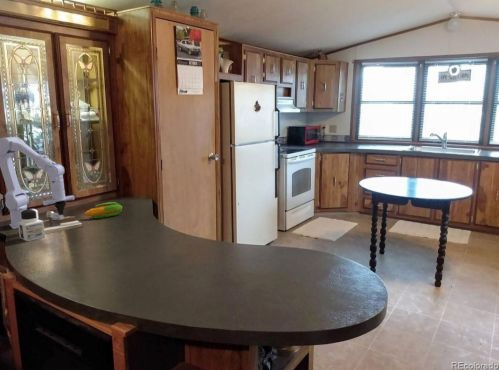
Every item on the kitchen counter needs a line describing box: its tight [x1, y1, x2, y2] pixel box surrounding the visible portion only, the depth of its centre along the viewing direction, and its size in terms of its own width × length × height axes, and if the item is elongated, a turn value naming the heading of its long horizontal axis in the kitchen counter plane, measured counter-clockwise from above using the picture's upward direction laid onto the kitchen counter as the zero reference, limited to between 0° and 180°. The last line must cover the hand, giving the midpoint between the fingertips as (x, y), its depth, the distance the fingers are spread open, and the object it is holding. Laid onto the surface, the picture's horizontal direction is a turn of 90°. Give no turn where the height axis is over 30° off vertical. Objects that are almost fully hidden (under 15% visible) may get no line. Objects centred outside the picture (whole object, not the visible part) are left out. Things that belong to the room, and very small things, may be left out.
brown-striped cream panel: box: [42, 215, 83, 235], centre depth 191 cm, size 19×17×4 cm
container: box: [18, 208, 46, 242], centre depth 173 cm, size 8×8×13 cm
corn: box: [84, 201, 123, 219], centre depth 207 cm, size 7×8×20 cm
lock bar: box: [46, 210, 65, 220], centre depth 190 cm, size 12×3×2 cm, turn 56°
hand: (61, 216), depth 190 cm, fingers closed, pressing on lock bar
